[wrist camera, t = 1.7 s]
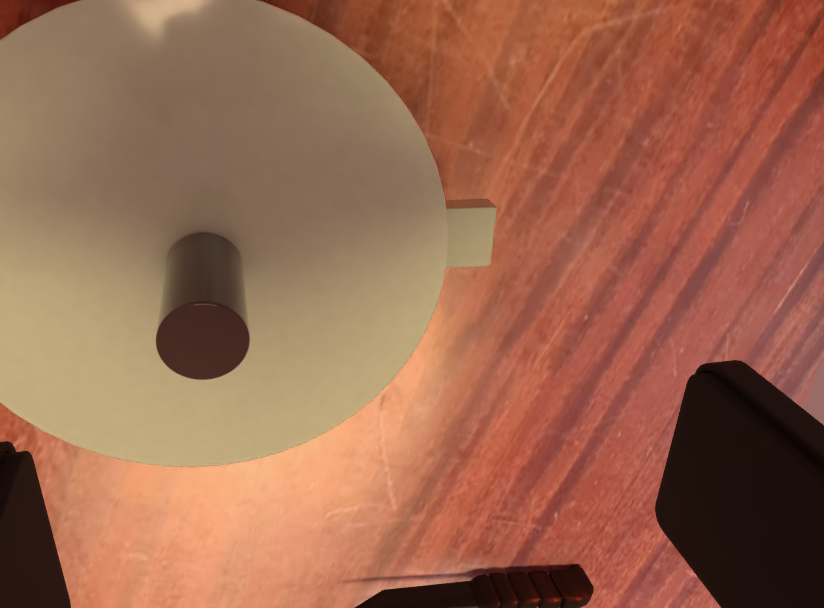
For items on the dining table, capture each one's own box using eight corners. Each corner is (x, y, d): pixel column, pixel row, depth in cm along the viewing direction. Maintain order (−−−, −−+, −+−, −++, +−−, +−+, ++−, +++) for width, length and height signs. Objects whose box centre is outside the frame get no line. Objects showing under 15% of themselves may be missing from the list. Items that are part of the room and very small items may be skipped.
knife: (335, 584, 42) (343, 626, 40) (338, 572, 42) (346, 614, 39) (577, 573, 48) (598, 609, 45) (581, 563, 47) (602, 599, 45)
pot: (-136, -26, 24) (-265, -12, 17) (456, -2, 29) (527, 17, 22) (-28, 366, 31) (-91, 480, 24) (431, 330, 36) (480, 416, 29)
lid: (-156, -31, 18) (-310, -17, 13) (457, -4, 22) (536, 15, 17) (-13, 472, 26) (-72, 613, 20) (424, 423, 30) (472, 530, 24)
